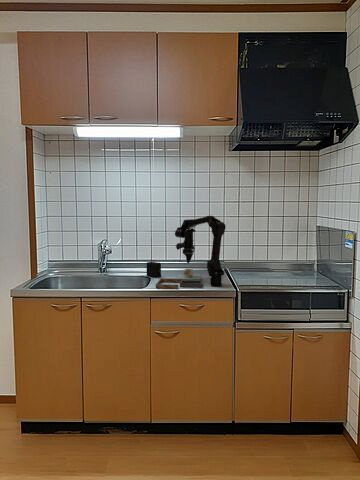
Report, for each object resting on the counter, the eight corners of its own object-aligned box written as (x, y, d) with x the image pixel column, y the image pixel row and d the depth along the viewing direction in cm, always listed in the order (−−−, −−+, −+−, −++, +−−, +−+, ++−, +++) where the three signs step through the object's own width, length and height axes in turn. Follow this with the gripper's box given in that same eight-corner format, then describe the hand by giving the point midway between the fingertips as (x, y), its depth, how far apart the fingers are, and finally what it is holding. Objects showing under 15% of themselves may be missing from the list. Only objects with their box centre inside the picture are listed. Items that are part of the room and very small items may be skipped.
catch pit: (202, 284, 254) (202, 280, 254) (201, 287, 246) (201, 283, 245) (181, 284, 256) (181, 280, 255) (179, 287, 247) (179, 283, 247)
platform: (201, 278, 273) (201, 275, 272) (199, 282, 261) (199, 279, 261) (177, 277, 275) (177, 274, 275) (175, 281, 263) (175, 278, 263)
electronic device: (156, 278, 274) (156, 263, 273) (146, 276, 281) (146, 262, 279) (161, 277, 277) (161, 262, 276) (150, 275, 284) (150, 261, 283)
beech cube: (192, 276, 270) (192, 268, 269) (191, 277, 265) (191, 270, 264) (185, 276, 270) (185, 268, 270) (184, 277, 265) (184, 270, 265)
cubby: (181, 282, 260) (181, 278, 260) (177, 289, 243) (177, 285, 243) (160, 282, 262) (160, 278, 262) (155, 288, 245) (155, 284, 244)
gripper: (178, 236, 275) (178, 259, 277) (174, 240, 257) (174, 264, 259) (194, 237, 274) (194, 259, 276) (192, 240, 255) (192, 264, 257)
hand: (188, 262), depth 267 cm, fingers open, 9 cm apart
